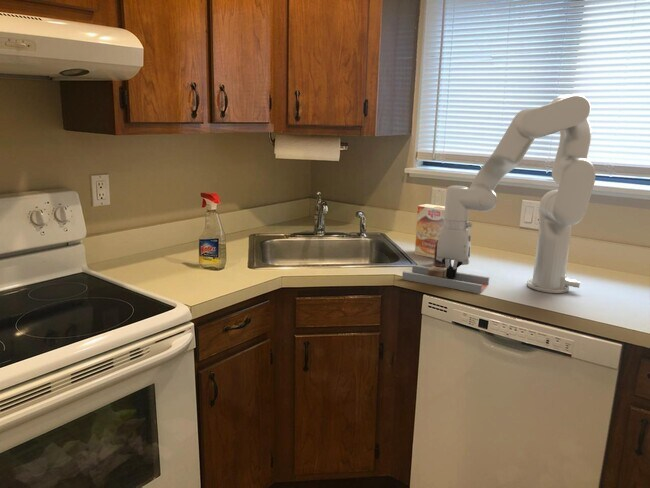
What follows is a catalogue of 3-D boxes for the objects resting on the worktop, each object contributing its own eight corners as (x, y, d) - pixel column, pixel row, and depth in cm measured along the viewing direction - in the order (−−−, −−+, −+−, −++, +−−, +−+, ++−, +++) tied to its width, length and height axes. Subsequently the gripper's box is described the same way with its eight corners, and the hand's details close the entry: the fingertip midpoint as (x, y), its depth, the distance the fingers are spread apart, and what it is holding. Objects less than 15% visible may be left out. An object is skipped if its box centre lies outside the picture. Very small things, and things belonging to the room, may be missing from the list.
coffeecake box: (414, 254, 212) (417, 205, 207) (423, 251, 217) (426, 203, 212) (448, 261, 202) (452, 210, 198) (457, 258, 208) (461, 208, 203)
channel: (488, 284, 176) (489, 277, 176) (480, 293, 167) (481, 285, 167) (413, 271, 188) (413, 264, 188) (402, 279, 180) (402, 272, 179)
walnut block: (446, 279, 180) (447, 268, 179) (442, 283, 176) (443, 272, 175) (431, 277, 182) (432, 266, 181) (427, 281, 178) (428, 269, 177)
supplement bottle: (450, 268, 194) (453, 237, 191) (433, 266, 195) (436, 236, 192) (450, 263, 200) (452, 234, 197) (433, 262, 201) (436, 233, 198)
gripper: (482, 225, 172) (476, 280, 176) (436, 220, 179) (432, 273, 183) (476, 229, 166) (470, 286, 170) (429, 223, 173) (425, 278, 177)
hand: (450, 279), depth 177 cm, fingers closed
